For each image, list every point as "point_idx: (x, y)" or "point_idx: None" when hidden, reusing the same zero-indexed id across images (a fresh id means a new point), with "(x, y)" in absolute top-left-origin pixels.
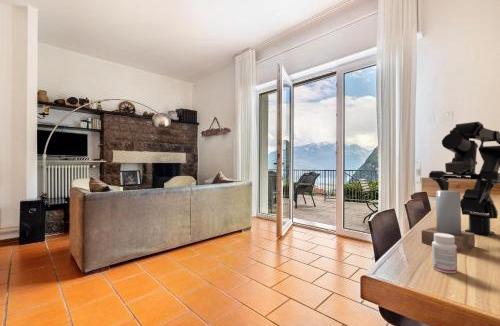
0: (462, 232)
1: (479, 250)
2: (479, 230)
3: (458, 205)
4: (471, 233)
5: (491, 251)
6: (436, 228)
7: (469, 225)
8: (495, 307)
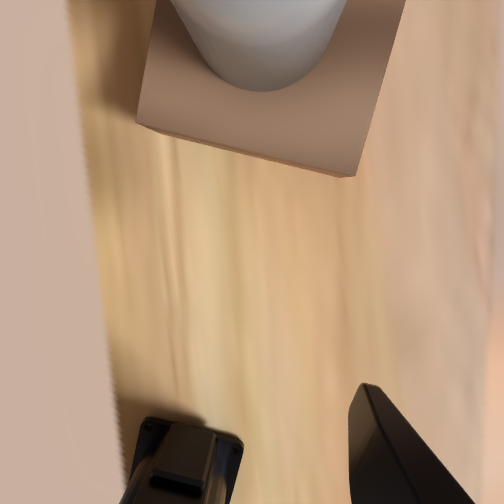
0: (194, 92)
1: (134, 64)
2: (170, 432)
3: None
4: (148, 104)
5: (91, 92)
6: (348, 89)
7: (219, 485)
8: None
